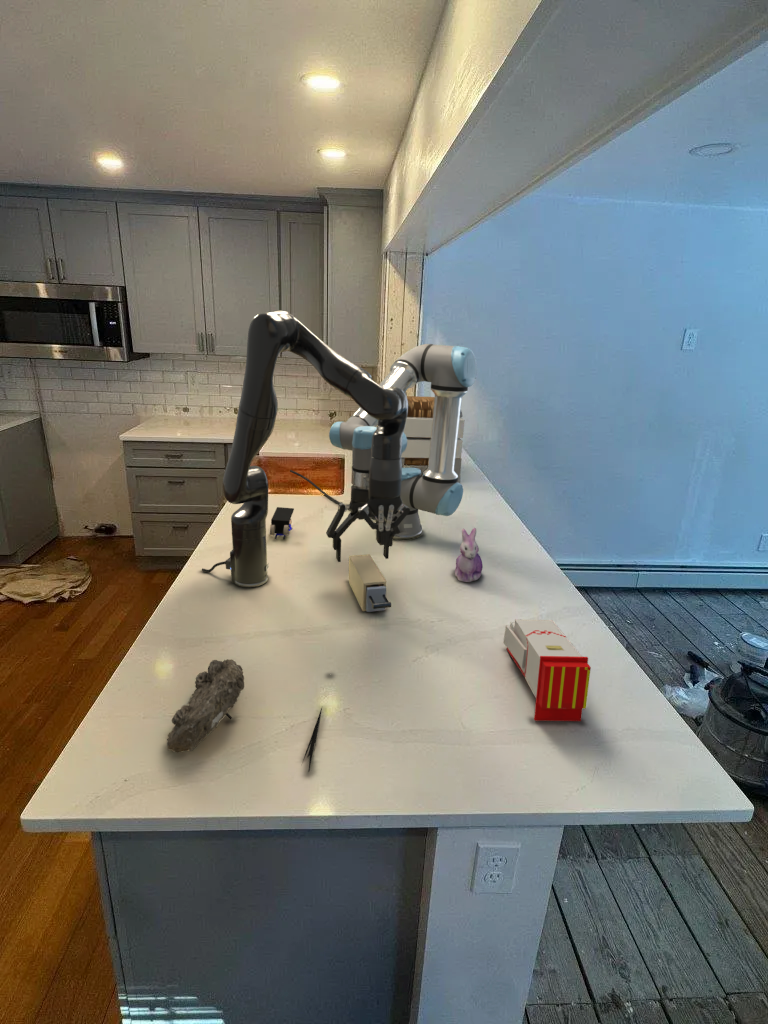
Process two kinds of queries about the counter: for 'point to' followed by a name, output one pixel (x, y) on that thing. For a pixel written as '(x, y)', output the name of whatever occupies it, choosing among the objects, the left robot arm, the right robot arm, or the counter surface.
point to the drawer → (376, 598)
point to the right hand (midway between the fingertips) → (362, 558)
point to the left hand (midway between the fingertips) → (382, 543)
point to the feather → (313, 740)
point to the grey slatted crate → (424, 433)
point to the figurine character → (281, 522)
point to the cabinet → (363, 576)
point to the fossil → (206, 705)
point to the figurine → (468, 558)
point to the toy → (549, 668)
